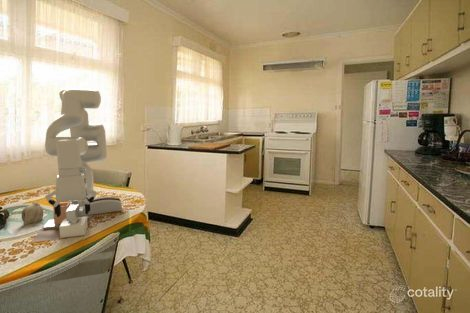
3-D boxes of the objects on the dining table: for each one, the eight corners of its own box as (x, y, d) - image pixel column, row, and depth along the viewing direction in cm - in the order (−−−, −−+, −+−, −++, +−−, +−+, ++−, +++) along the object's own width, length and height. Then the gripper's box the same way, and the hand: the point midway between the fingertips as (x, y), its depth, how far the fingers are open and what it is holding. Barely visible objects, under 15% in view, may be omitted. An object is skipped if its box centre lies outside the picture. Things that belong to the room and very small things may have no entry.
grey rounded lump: (32, 225, 120) (32, 203, 122) (50, 223, 120) (50, 200, 121) (13, 227, 111) (14, 203, 113) (33, 225, 110) (33, 200, 112)
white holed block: (65, 229, 108) (64, 218, 108) (87, 226, 111) (86, 216, 110) (60, 237, 101) (59, 226, 100) (84, 235, 104) (83, 224, 103)
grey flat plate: (47, 224, 116) (47, 221, 115) (91, 220, 122) (91, 217, 121) (30, 246, 97) (30, 242, 97) (84, 239, 103) (83, 236, 103)
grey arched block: (121, 209, 136) (121, 193, 132) (122, 215, 132) (123, 199, 128) (84, 214, 128) (82, 197, 124) (84, 221, 124) (82, 203, 120)
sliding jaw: (58, 219, 115) (56, 202, 114) (73, 217, 117) (72, 201, 116) (54, 224, 109) (52, 207, 108) (70, 223, 111) (68, 206, 110)
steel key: (72, 228, 110) (70, 204, 108) (81, 227, 111) (79, 203, 109) (68, 236, 102) (65, 211, 101) (77, 235, 103) (74, 210, 102)
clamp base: (49, 222, 115) (47, 199, 113) (88, 218, 120) (87, 196, 118) (43, 229, 107) (41, 205, 106) (85, 225, 113) (84, 202, 111)
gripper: (96, 168, 109) (99, 209, 111) (46, 170, 103) (50, 213, 105) (94, 172, 102) (96, 215, 104) (40, 175, 96) (44, 220, 98)
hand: (73, 214), depth 105 cm, fingers open, 9 cm apart
